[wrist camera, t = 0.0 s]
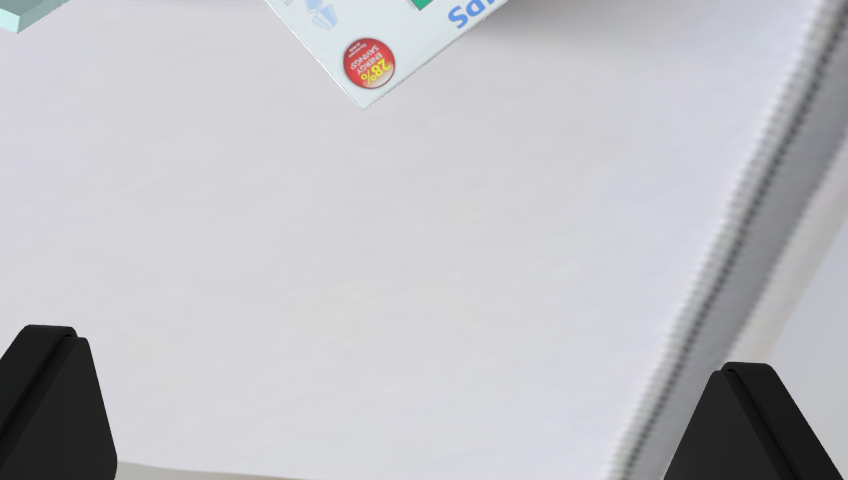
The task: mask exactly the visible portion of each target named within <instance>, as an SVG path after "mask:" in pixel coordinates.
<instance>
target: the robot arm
mask: <svg viewBox="0 0 848 480" xmlns="http://www.w3.org/2000/svg"><path fill="white" fill-rule="evenodd" d="M116 470H117V454H116V450H115V446H114V442H113V438H112V434H111V430H110V426H109V422H108V418H107V414H106V410H105V406H104V402H103V398H102V394H101V390H100V386H99V382H98V378H97V374H96V370H95V366H94V362H93V358H92V354H91V350H90V346H89V343H88V340H87V339H86V338H83V337H78V336H77V334H76V331H75V330H74V329H73V328H72V327H68V326H49V325H30V324H29V325H27V326H25V327H24V328H23V329H22V330H21V331H20V332H19V334H18V335H17V337H16V338H15V339H14V341H13V342H12V344H11V345H10V347H9V348H8V349H7V351H6V352H5V354H4V355H3V356H2V358H1V359H0V480H114V478H115V474H116ZM664 480H843V478H842V476H841V475H840V473H839V472H838V470H837V468H836V467H835V465H834V464H833V463H832V461H831V459H830V457H829V456H828V454H827V453H826V451H825V449H824V448H823V446H822V445H821V443H820V441H819V440H818V438H817V437H816V435H815V434H814V432H813V430H812V429H811V427H810V426H809V424H808V422H807V421H806V419H805V418H804V416H803V414H802V413H801V411H800V410H799V408H798V407H797V405H796V403H795V402H794V400H793V399H792V397H791V395H790V394H789V392H788V391H787V389H786V388H785V386H784V384H783V383H782V381H781V380H780V378H779V376H778V375H777V373H776V372H775V370H773V368H772V367H771V366H770V365H768V364H765V363H746V362H727V363H726V364H724V366H723V367H722V369H721V370H720V371H714V372H713V373H712V375H711V376H710V378H709V380H708V383H707V385H706V387H705V389H704V391H703V394H702V396H701V398H700V400H699V402H698V405H697V407H696V409H695V411H694V413H693V415H692V418H691V420H690V422H689V424H688V426H687V429H686V431H685V433H684V435H683V437H682V439H681V442H680V444H679V446H678V448H677V450H676V453H675V455H674V457H673V459H672V461H671V464H670V466H669V468H668V470H667V472H666V474H665V477H664Z"/></svg>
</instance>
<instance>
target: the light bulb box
mask: <svg viewBox="0 0 848 480" xmlns="http://www.w3.org/2000/svg"><path fill="white" fill-rule="evenodd" d="M265 1H266V2H267V3H268V4H269V6H270V7H271V8H272V9H273V10H274V11H275V12H276V14H277V15H278V16H279V17H280V18H281V19H282V20H283V22H284V23H285V24H286V25H287V26H288V27H289V28H290V30H291V31H292V32H293V33H294V34H295V35H296V37H297V38H298V39H299V40H300V41H301V42H302V43H303V44H304V46H305V47H306V48H307V49H308V50H309V51H310V52H311V54H312V55H313V56H314V57H315V58H316V59H317V60H318V62H319V63H320V64H321V65H322V66H323V67H324V69H325V70H326V71H327V72H328V73H329V74H330V75H331V77H332V78H333V79H334V80H335V81H336V82H337V83H338V84H339V86H340V87H341V88H342V89H343V90H344V91H345V92H346V93H347V94H348V95H349V97H350V98H351V99H352V100H353V101H354V102H355V103H356V104H357V105H358V107H360V108H361V109H363V110H365V109H366V108H367V107H369V106H370V105H371V104H373V103H374V102H376V101H377V100H379V99H380V98H381V97H383V96H384V95H386V94H387V93H388V92H390V91H391V90H392V89H394V88H395V87H396V86H398V85H399V84H400V83H402V82H403V81H404V80H406V79H407V78H408V77H409V76H411V75H412V74H413V73H415V72H416V71H417V70H418V69H420V68H421V67H422V66H424V65H425V64H427V63H428V62H429V61H430V60H432V59H433V58H434V57H436V56H437V55H438V54H439V53H441V52H442V51H443V50H444V49H446V48H447V47H448V46H450V45H451V44H452V43H454V42H455V41H456V40H458V39H459V38H460V37H461V36H463V35H464V34H465V33H467V32H468V31H469V30H471V29H472V28H473V27H475V26H476V25H477V24H478V23H480V22H481V21H482V20H484V19H485V18H486V17H488V16H489V15H490V14H491V13H493V12H494V11H495V10H497V9H498V8H499V7H501V6H502V5H503V4H505V3H506V2H507V1H508V0H265Z"/></svg>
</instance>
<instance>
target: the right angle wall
mask: <svg viewBox="0 0 848 480" xmlns="http://www.w3.org/2000/svg"><path fill="white" fill-rule="evenodd" d="M67 1H69V0H0V27H1V28H4V29H6V30H9V31H11V32H13V33H16V34H17V33H19V32H21V31H22V30H24V29H25V28H27V27H28V26H30V25H31V24H33V23H35V22H36V21H38V20H39V19H41V18H42V17H44V16H46V15H47V14H49V13H50V12H52V11H53V10H55V9H56V8H58V7H60V6H61V5H63V4H64V3H66V2H67Z"/></svg>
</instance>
